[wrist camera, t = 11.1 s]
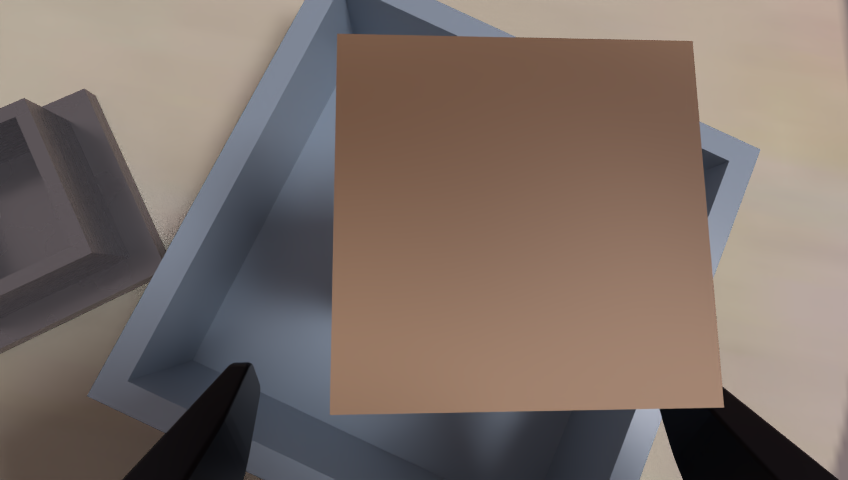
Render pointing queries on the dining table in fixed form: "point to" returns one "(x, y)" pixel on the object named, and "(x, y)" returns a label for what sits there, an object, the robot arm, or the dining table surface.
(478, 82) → the strut
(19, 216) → the socket block
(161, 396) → the bin
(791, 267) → the dining table surface
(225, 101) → the dining table surface
